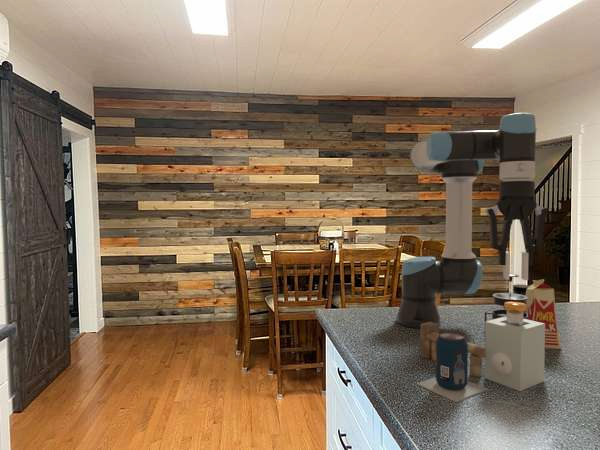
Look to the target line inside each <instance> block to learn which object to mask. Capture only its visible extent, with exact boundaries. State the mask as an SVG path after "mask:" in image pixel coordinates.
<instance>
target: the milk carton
mask: <svg viewBox="0 0 600 450" xmlns="http://www.w3.org/2000/svg"><path fill="white" fill-rule="evenodd" d="M532 282H533V283H532V284H530V285H529V286H530V287H529V288H527V290H526V295H525V296H527V297H528V300H526V301H525V303H524V304H526V311H523V312H524V313H526V314H528V320H532V321H536V322H540V323H545V349H557V350H558V349H559V350H562V349H563V348H562V344H561V338H560V333H559V326H558V319H557V311H556V301H555V288H553V287H551V286H549V285H548V284H545V283H544V282H545V279H543V278H542V279H539V280H533V279H532Z"/></svg>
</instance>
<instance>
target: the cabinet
mask: <svg viewBox="0 0 600 450" xmlns="http://www.w3.org/2000/svg"><path fill="white" fill-rule="evenodd" d="M484 339H485V341H484V348H485V358H484V379H487V380H489V381H492V382H494V383H497V384H500V385H503V386H504V387H507V388H510V389H512V390H515V391H518V392H522V391H525V390H526V389H528V388H532V387H534V386H537V385H539V384H540V383H543V382H545V355H546V354H545V353H546V352H545V349H546V348H545V323H540V322H536V321H532V320H527V319H523V326H520V327H518V326H514V325H510V324H507V315H506V316H505V315H504V317H501V318H497V319H493V320H492V319H489V320H487V321H486V322H485V321H484Z"/></svg>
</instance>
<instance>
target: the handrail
mask: <svg viewBox="0 0 600 450" xmlns="http://www.w3.org/2000/svg"><path fill="white" fill-rule="evenodd" d="M439 328H440V325H439V324H436V323H433V322H427V323H423V324H421V328H420V338H419V339H420V345H419V346H420V347H419V348H420V349H419V351H420V357H424V358H426V359H428V360H429V359H431V361H434V362H436V340H437V339H438V337H439V333H440V329H439ZM467 344H468V354H469V375H471V376H473V377H476V378H477V377H481V376H483V375H482V373H483V359H485V346H480V345H477V344H474V343H471V342H467Z"/></svg>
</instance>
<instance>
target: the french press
mask: <svg viewBox="0 0 600 450" xmlns="http://www.w3.org/2000/svg"><path fill="white" fill-rule="evenodd" d="M501 276H503V274H501ZM519 276H520V275H518V274H516V273H509V280H508V282H509V292H497V293H493V294H492V297H493V301H494V302H493V303H494V304H495V305H497V306H501V307H504V303H505V302H520V303H525V301H526V300H528V297H527V296H525V295H521V294H514V293H513V292H512V282H513V278H519ZM487 314H488V315H491V316H492V317H491V320H493V319H497V318H501V317H505V315H507V310H506V309H495V310H492V311H487V310H486V311H485V312H484V323H485V322H486V321H488V320H487V317H488V315H487ZM503 315H504V316H503ZM523 319H527V320H528V314H526V313H524V312H523ZM483 341H484V342H485V338H484V340H483Z"/></svg>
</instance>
